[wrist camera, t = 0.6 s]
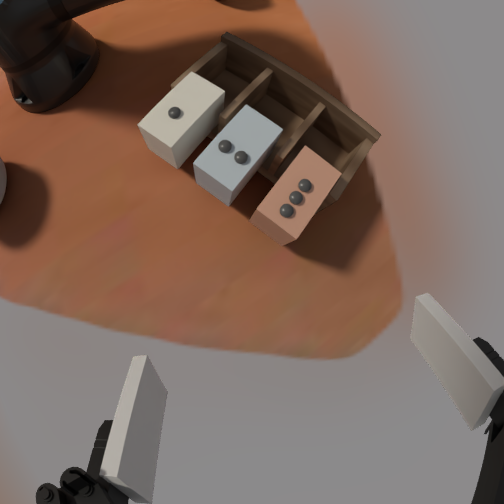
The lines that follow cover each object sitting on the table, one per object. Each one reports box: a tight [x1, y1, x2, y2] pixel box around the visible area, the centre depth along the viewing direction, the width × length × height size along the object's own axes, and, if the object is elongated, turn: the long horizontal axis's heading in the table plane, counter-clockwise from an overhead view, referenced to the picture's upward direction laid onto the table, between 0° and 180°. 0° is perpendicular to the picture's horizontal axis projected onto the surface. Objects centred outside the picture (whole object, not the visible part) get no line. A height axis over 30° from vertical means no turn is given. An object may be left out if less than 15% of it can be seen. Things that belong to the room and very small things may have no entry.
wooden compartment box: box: [171, 32, 381, 214], centre depth 32 cm, size 10×21×8 cm, turn 54°
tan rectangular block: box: [249, 146, 342, 246], centre depth 30 cm, size 8×4×6 cm, turn 144°
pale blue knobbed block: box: [193, 105, 283, 207], centre depth 30 cm, size 8×4×6 cm, turn 144°
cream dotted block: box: [138, 72, 225, 169], centre depth 29 cm, size 8×4×6 cm, turn 144°
